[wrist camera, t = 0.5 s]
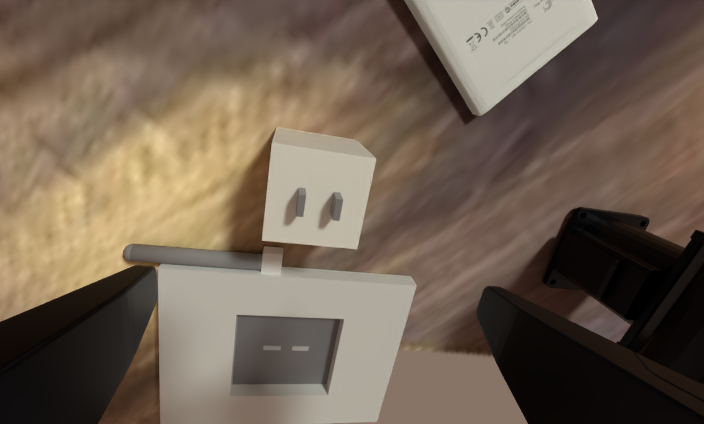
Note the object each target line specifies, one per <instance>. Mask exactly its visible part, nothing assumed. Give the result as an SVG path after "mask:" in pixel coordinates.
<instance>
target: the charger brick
mask: <svg viewBox="0 0 704 424" xmlns="http://www.w3.org/2000/svg"><path fill="white" fill-rule="evenodd" d="M375 163H376V158H375V157H374V156H373V155H372V154H371V153H370V152H369V151H368V150H367V149H366V148H365V147H363V146H362V145H361V144H360V143H359V142H358V141H357V140H353V139H347V138H341V137H335V136H329V135H323V134H317V133H311V132H305V131H299V130H293V129H287V128H281V127H276V131H275V134H274V137H273V141H272V146H271V156H270V166H269V176H268V185H267V195H266V205H265V215H264V224H263V234H262V241H272V242H283V243H294V244H305V245H316V246H327V247H339V248H350V249H357V247H358V242H359V238H360V233H361V228H362V224H363V219H364V214H365V210H366V205H367V200H368V195H369V191H370V186H371V181H372V177H373V172H374V167H375Z"/></svg>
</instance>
